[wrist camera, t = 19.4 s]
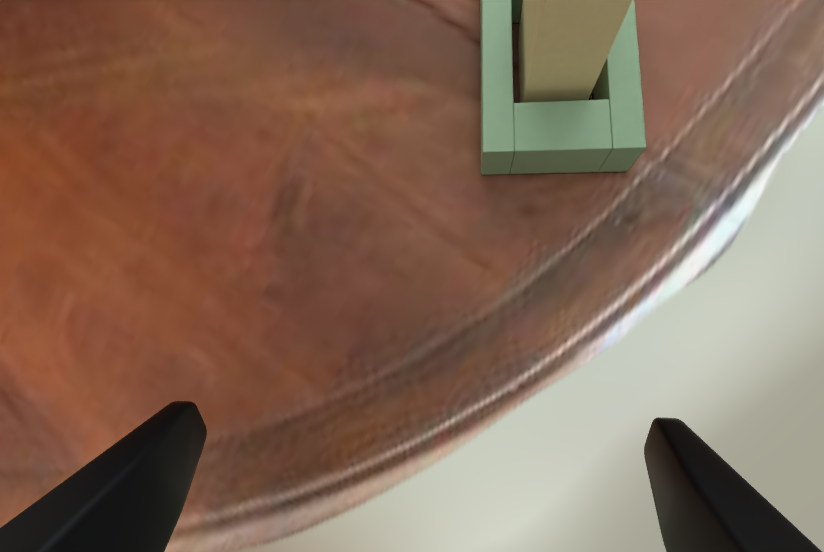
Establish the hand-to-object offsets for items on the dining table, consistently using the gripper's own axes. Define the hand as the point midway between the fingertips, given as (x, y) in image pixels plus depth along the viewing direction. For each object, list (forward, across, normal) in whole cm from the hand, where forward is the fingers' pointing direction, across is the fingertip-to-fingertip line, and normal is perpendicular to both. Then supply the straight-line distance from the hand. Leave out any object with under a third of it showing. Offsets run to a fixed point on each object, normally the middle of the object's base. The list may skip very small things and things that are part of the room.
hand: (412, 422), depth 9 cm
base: (+20, -5, -3) cm, 21 cm away
